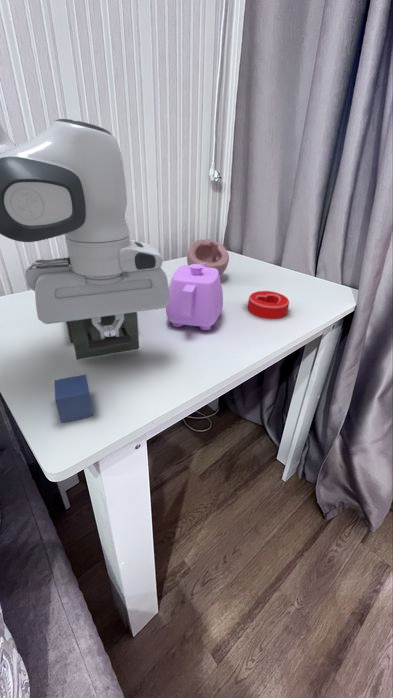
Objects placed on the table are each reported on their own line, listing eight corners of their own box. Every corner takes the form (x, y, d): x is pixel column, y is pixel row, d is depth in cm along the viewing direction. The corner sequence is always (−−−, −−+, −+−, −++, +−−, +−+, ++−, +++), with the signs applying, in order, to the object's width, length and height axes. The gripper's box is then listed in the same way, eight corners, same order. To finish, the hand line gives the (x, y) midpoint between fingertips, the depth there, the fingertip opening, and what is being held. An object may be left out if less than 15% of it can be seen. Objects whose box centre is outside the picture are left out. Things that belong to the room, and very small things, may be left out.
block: (60, 423, 47) (54, 399, 45) (59, 403, 51) (53, 380, 48) (93, 415, 49) (89, 392, 47) (89, 396, 52) (85, 373, 50)
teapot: (215, 344, 67) (220, 285, 60) (156, 336, 69) (154, 278, 62) (225, 304, 84) (230, 254, 77) (178, 298, 85) (178, 249, 79)
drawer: (145, 363, 59) (143, 324, 55) (79, 375, 55) (71, 335, 51) (124, 317, 73) (122, 284, 69) (70, 325, 70) (64, 290, 65)
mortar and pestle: (194, 287, 92) (195, 246, 86) (181, 273, 101) (182, 234, 95) (233, 284, 95) (237, 243, 89) (217, 270, 105) (220, 233, 99)
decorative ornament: (272, 322, 76) (274, 310, 74) (239, 308, 82) (241, 296, 80) (294, 311, 82) (297, 299, 80) (263, 298, 88) (264, 287, 86)
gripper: (21, 268, 43) (43, 357, 50) (172, 256, 49) (172, 336, 57) (23, 254, 47) (43, 337, 55) (160, 245, 54) (162, 320, 62)
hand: (110, 336), depth 56 cm, fingers closed, pressing on drawer
